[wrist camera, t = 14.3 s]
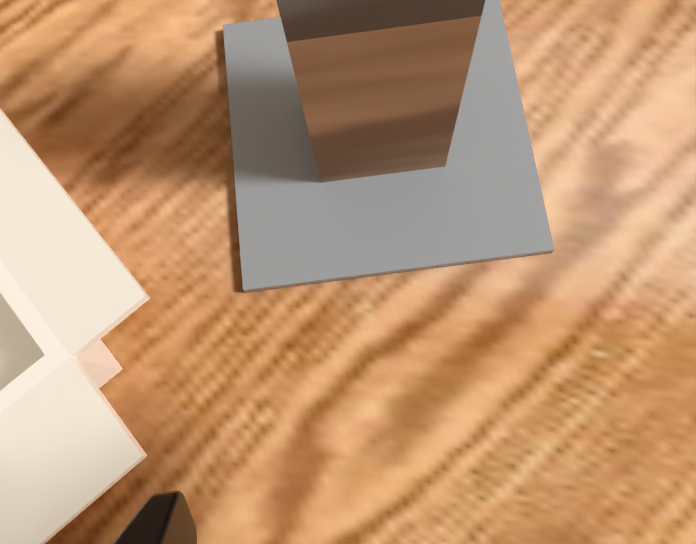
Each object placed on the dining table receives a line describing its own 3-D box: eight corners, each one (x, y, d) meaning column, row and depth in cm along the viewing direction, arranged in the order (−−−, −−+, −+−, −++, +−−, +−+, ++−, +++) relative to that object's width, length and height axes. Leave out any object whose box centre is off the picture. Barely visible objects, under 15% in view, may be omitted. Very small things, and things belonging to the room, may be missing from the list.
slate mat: (551, 252, 23) (554, 249, 23) (245, 292, 23) (242, 290, 23) (494, -7, 26) (496, -14, 26) (225, 30, 27) (222, 24, 26)
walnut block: (445, 166, 24) (505, -82, 12) (321, 182, 24) (264, -49, 12) (430, 79, 25) (472, -227, 13) (311, 94, 25) (250, -194, 13)
